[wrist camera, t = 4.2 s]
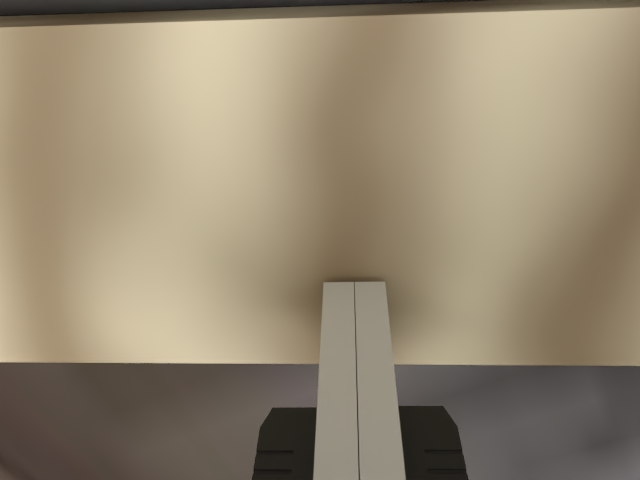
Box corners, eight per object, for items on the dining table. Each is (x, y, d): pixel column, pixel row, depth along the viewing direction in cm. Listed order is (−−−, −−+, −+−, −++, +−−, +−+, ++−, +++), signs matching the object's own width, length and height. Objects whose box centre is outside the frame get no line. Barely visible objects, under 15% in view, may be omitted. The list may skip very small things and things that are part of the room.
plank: (987, -16, 12) (1084, -7, 10) (818, 324, 16) (867, 367, 15) (-177, 22, 13) (-247, 34, 12) (-44, 323, 18) (-82, 361, 16)
